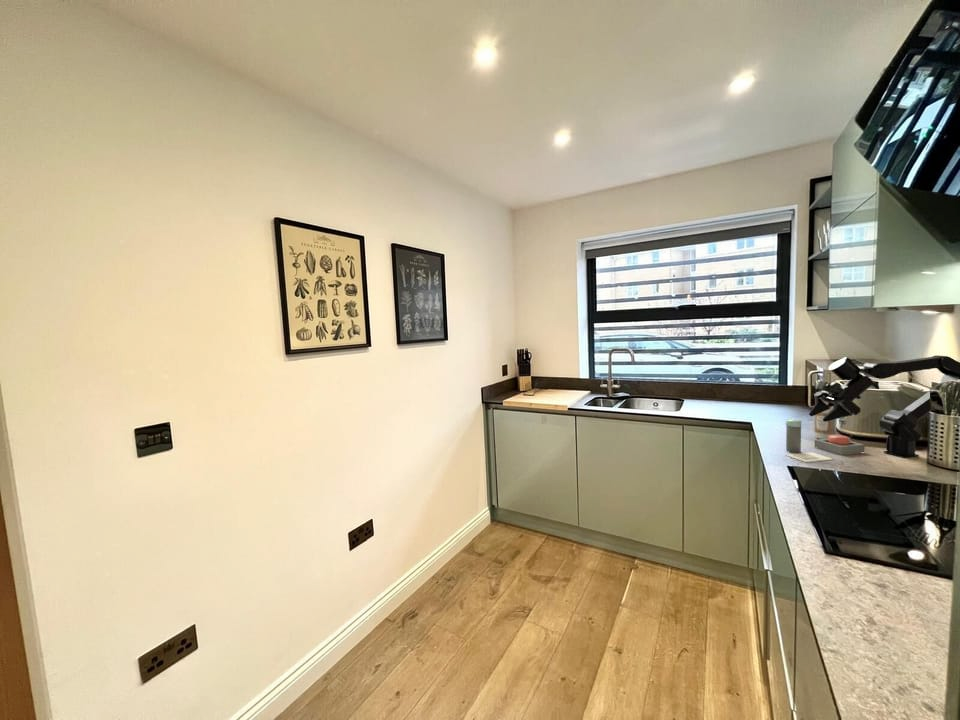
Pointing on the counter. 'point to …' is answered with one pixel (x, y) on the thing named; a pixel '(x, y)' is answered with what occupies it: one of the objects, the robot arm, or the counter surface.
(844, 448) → the button box
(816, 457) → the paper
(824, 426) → the bath foam
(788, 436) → the grey green-topped canister
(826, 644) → the counter surface
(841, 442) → the button
